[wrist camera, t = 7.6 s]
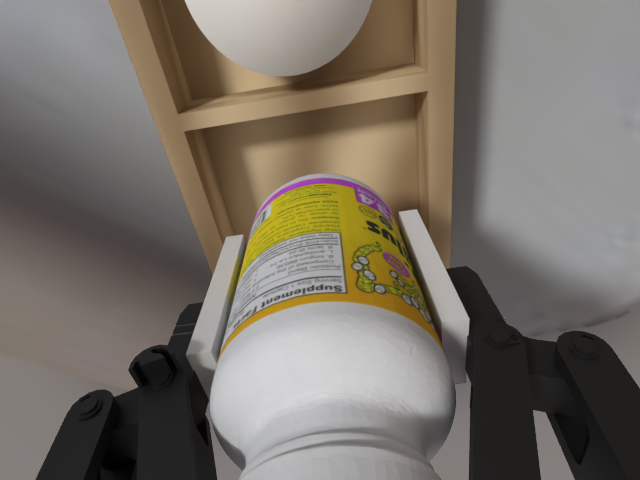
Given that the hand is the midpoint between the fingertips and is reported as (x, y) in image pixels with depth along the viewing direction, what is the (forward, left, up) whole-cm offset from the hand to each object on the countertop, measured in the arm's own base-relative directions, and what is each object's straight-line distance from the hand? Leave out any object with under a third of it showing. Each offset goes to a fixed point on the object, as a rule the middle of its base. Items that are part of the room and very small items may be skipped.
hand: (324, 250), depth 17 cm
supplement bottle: (0, 0, -2) cm, 2 cm away
